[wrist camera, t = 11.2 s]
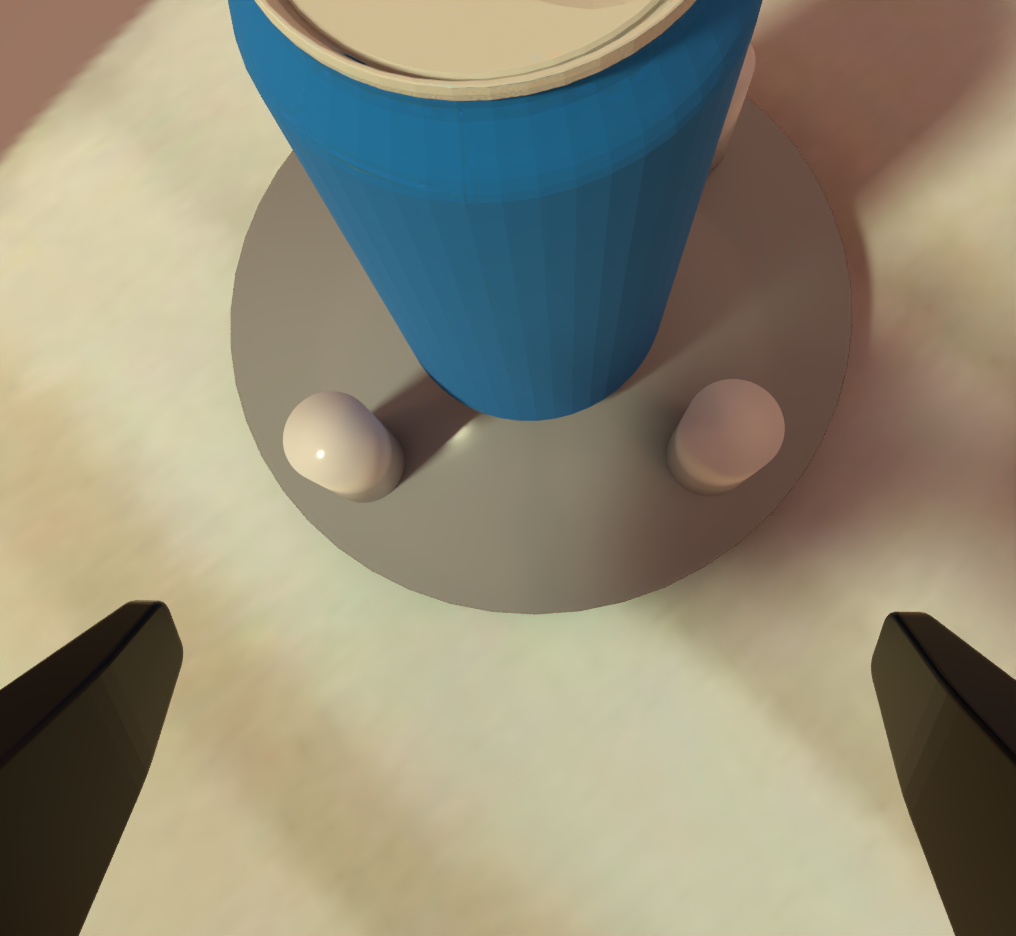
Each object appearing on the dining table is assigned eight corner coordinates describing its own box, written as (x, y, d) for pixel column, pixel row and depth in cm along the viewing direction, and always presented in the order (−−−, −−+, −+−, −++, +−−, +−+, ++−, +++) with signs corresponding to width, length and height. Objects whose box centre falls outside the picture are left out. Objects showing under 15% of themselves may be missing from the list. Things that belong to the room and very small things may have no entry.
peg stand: (863, 611, 19) (947, 610, 15) (232, 616, 20) (144, 617, 16) (809, 41, 22) (866, -93, 18) (264, 75, 23) (197, -43, 19)
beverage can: (502, 150, 20) (413, -477, 9) (708, 272, 19) (928, -256, 8) (359, 341, 20) (51, -61, 8) (565, 479, 19) (560, 250, 7)
